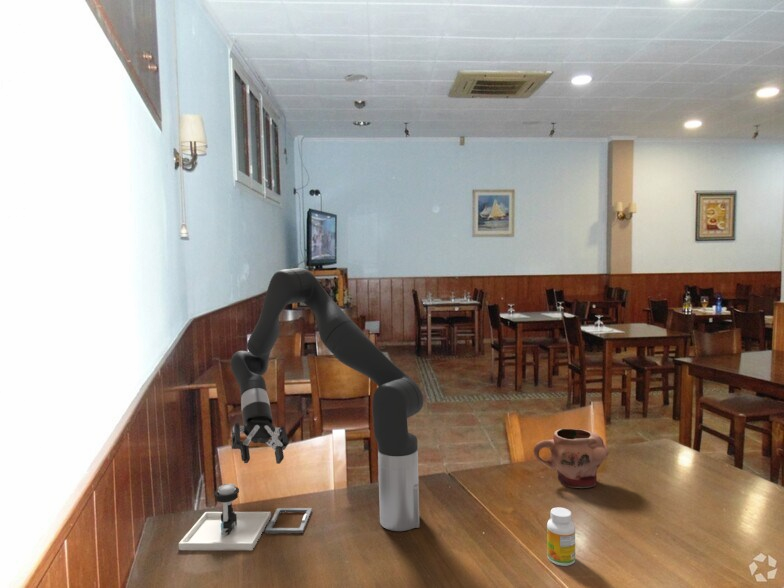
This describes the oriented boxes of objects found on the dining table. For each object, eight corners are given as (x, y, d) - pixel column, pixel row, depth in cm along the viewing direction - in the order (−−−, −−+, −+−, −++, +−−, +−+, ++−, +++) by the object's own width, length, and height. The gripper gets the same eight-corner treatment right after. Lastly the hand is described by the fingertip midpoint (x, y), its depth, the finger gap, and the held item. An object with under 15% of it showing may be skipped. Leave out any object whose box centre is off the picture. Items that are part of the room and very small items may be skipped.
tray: (271, 517, 122) (270, 511, 122) (252, 550, 108) (252, 543, 108) (205, 518, 122) (205, 511, 122) (178, 550, 108) (178, 543, 108)
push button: (234, 538, 112) (233, 494, 112) (210, 539, 112) (208, 495, 111) (243, 523, 119) (241, 481, 118) (220, 524, 119) (218, 482, 118)
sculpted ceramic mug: (544, 495, 130) (543, 442, 130) (527, 475, 143) (526, 427, 142) (618, 490, 132) (618, 438, 131) (595, 471, 144) (595, 423, 144)
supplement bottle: (543, 552, 104) (542, 506, 104) (568, 550, 105) (568, 504, 104) (553, 567, 99) (553, 519, 99) (580, 565, 100) (579, 517, 99)
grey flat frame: (312, 511, 125) (311, 506, 125) (302, 533, 114) (302, 528, 114) (277, 511, 125) (277, 506, 125) (265, 533, 114) (264, 528, 114)
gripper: (235, 398, 132) (241, 452, 121) (285, 402, 140) (295, 453, 129) (225, 415, 136) (230, 470, 125) (275, 419, 144) (284, 470, 132)
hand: (263, 461), depth 127 cm, fingers open, 8 cm apart
